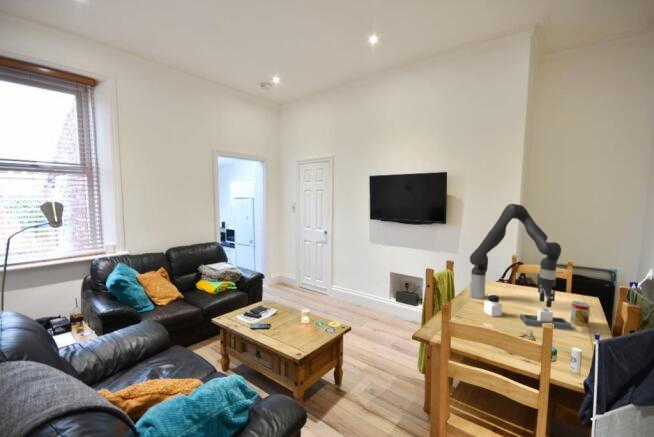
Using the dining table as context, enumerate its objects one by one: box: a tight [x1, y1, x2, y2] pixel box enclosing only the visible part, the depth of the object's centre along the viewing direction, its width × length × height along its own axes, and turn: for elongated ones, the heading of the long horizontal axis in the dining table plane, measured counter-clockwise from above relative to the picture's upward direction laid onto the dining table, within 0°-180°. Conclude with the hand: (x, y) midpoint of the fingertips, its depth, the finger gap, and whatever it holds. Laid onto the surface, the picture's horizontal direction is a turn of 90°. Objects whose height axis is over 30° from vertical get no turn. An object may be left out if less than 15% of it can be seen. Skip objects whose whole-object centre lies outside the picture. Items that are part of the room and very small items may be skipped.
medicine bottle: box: [483, 293, 503, 317], centre depth 182 cm, size 7×7×12 cm
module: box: [536, 307, 554, 322], centre depth 168 cm, size 6×4×8 cm, turn 75°
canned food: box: [570, 300, 591, 327], centre depth 168 cm, size 8×8×12 cm
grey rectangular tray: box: [519, 313, 572, 331], centre depth 168 cm, size 22×10×3 cm, turn 75°
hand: (545, 304), depth 167 cm, fingers open, 8 cm apart
